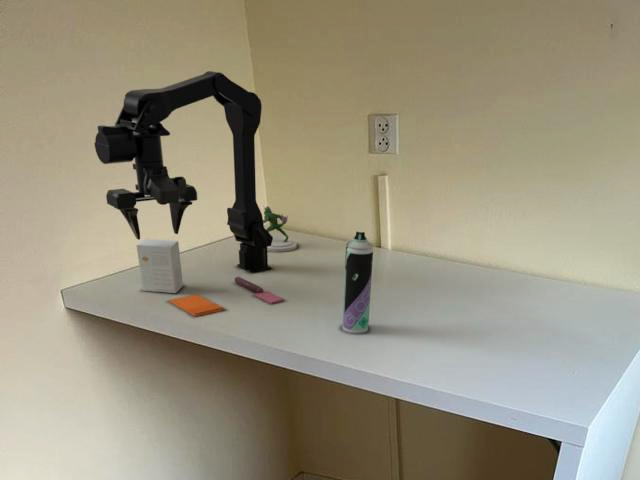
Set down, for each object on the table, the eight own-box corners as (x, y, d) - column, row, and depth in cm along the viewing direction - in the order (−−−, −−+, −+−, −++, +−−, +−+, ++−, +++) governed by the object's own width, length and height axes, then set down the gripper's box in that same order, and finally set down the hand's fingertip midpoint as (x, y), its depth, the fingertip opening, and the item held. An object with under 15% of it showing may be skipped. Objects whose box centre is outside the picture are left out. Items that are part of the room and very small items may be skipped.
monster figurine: (274, 237, 199) (273, 200, 193) (305, 246, 194) (305, 208, 188) (245, 245, 191) (244, 207, 185) (277, 254, 186) (277, 215, 180)
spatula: (230, 283, 163) (229, 277, 162) (242, 281, 165) (242, 274, 164) (271, 304, 153) (271, 297, 152) (283, 301, 155) (283, 294, 154)
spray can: (349, 335, 141) (354, 236, 129) (338, 325, 145) (341, 229, 133) (372, 331, 143) (379, 234, 132) (360, 322, 147) (366, 227, 135)
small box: (183, 286, 160) (179, 240, 154) (175, 294, 155) (171, 247, 149) (150, 283, 160) (144, 237, 154) (141, 291, 155) (135, 244, 149)
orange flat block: (197, 295, 155) (197, 293, 154) (223, 310, 148) (223, 307, 148) (169, 301, 151) (169, 299, 150) (195, 316, 144) (195, 313, 144)
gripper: (124, 170, 132) (135, 251, 141) (208, 163, 143) (213, 239, 152) (99, 160, 139) (111, 238, 147) (181, 154, 149) (187, 228, 158)
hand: (157, 236), depth 151 cm, fingers open, 9 cm apart
